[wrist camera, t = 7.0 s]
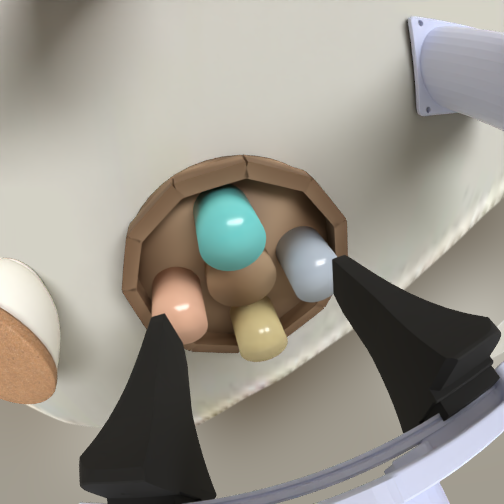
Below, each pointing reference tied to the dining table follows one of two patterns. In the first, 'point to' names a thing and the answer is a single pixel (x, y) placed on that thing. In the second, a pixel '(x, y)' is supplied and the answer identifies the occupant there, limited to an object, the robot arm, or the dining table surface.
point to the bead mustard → (258, 330)
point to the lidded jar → (27, 335)
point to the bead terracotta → (180, 302)
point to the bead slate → (307, 263)
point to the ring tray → (181, 243)
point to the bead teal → (227, 228)
